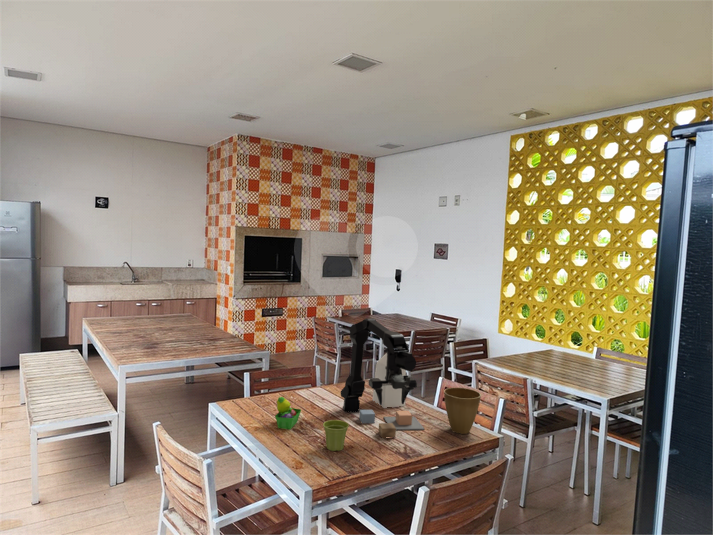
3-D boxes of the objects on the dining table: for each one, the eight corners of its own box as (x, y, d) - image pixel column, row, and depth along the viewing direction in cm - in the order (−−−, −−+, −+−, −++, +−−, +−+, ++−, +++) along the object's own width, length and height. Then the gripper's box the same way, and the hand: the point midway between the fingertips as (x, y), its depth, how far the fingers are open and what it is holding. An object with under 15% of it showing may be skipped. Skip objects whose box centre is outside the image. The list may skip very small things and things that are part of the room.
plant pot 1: (316, 449, 170) (318, 425, 170) (330, 440, 179) (331, 417, 178) (339, 455, 166) (340, 431, 166) (352, 446, 174) (353, 423, 174)
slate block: (361, 423, 199) (362, 414, 198) (359, 418, 204) (359, 409, 204) (374, 423, 200) (375, 414, 199) (371, 418, 205) (372, 409, 205)
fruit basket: (292, 431, 186) (293, 403, 185) (270, 428, 188) (272, 400, 187) (301, 421, 197) (302, 394, 197) (281, 418, 199) (282, 392, 198)
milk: (372, 400, 230) (375, 347, 229) (393, 398, 235) (396, 346, 234) (384, 408, 219) (387, 352, 218) (405, 406, 224) (408, 351, 223)
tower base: (391, 430, 192) (391, 419, 192) (383, 418, 206) (384, 407, 206) (424, 430, 195) (425, 419, 194) (414, 417, 208) (415, 407, 208)
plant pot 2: (448, 421, 206) (451, 385, 206) (482, 429, 199) (485, 392, 198) (436, 431, 194) (438, 393, 193) (472, 440, 186) (474, 400, 185)
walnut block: (381, 438, 184) (382, 428, 184) (378, 433, 189) (378, 423, 189) (395, 438, 185) (395, 428, 185) (391, 432, 190) (392, 423, 190)
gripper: (377, 370, 178) (375, 411, 179) (423, 370, 183) (421, 409, 184) (369, 363, 189) (367, 402, 190) (412, 363, 194) (410, 401, 194)
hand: (391, 404), depth 189 cm, fingers open, 9 cm apart
